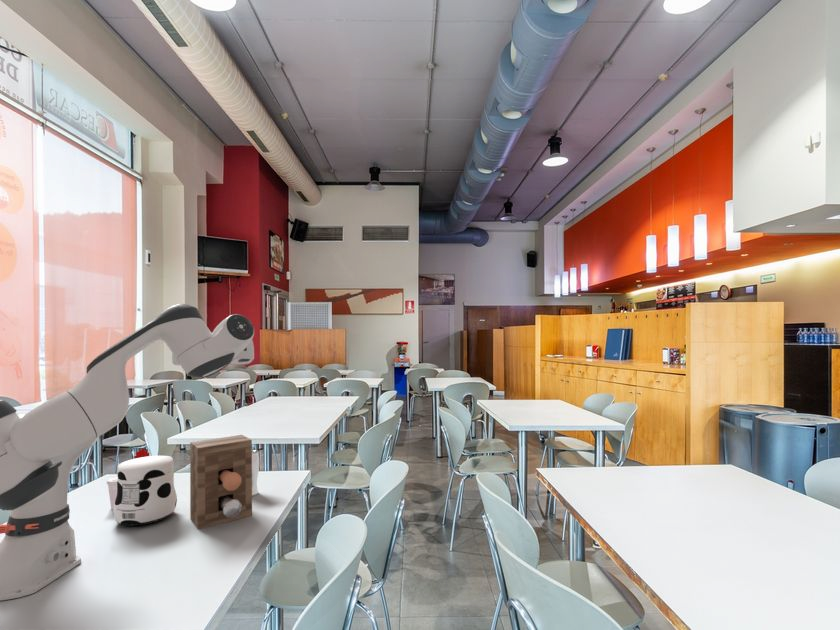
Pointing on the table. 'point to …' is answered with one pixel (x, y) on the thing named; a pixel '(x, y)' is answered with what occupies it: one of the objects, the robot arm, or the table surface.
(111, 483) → the smoothie
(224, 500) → the grey plug
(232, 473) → the terracotta plug
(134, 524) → the milk container
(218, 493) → the box
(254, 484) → the white hollow cylinder
